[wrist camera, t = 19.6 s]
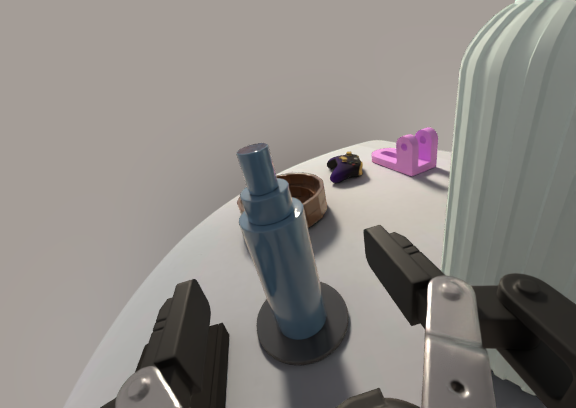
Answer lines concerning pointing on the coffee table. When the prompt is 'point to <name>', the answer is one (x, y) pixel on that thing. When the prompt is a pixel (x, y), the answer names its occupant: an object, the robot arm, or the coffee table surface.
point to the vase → (515, 155)
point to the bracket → (410, 153)
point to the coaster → (312, 346)
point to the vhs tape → (211, 370)
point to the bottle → (280, 246)
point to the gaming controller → (344, 167)
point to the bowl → (305, 194)
